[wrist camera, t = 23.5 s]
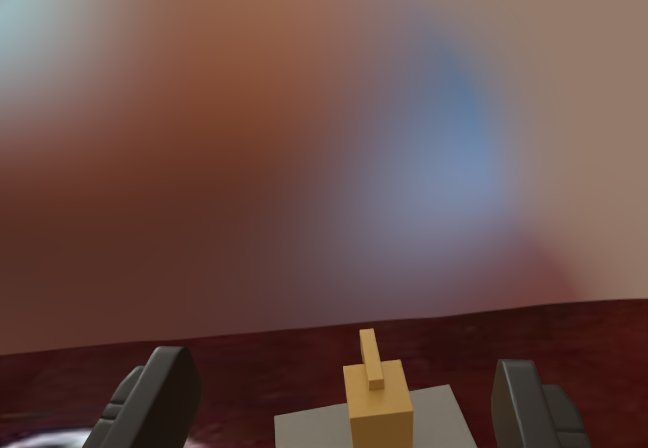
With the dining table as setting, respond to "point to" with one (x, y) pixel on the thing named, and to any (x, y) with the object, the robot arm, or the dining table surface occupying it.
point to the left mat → (335, 435)
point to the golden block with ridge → (378, 400)
